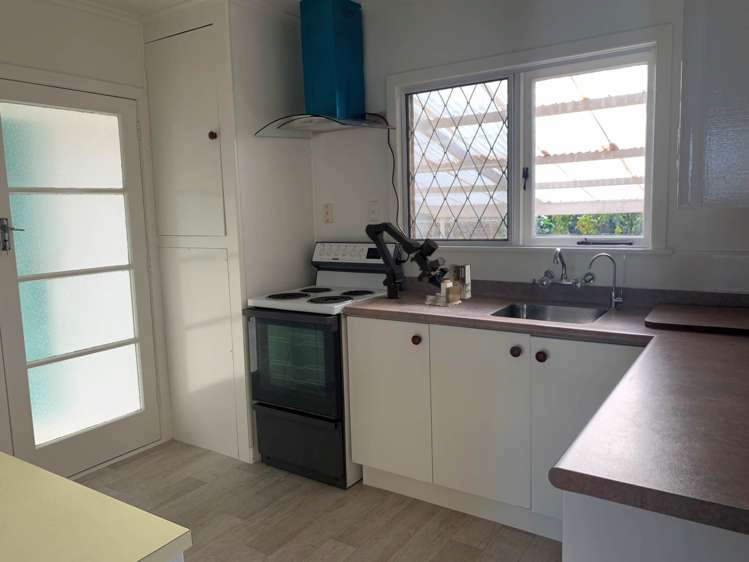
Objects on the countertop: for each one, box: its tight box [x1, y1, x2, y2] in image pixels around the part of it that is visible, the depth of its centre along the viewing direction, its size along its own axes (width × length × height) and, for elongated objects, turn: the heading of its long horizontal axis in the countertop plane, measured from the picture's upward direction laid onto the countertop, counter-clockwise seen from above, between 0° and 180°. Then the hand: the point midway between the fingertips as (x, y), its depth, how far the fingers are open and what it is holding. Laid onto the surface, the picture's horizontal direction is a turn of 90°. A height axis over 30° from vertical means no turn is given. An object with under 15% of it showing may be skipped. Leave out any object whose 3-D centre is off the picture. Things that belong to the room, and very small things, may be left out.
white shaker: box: [440, 279, 452, 297], centre depth 267 cm, size 4×5×9 cm
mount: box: [424, 286, 462, 307], centre depth 268 cm, size 12×11×8 cm
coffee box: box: [448, 263, 472, 300], centre depth 283 cm, size 9×6×16 cm
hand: (443, 288), depth 268 cm, fingers closed, pressing on white shaker
